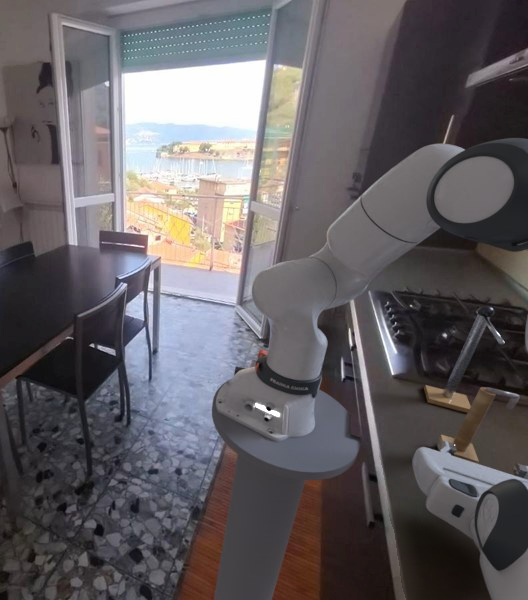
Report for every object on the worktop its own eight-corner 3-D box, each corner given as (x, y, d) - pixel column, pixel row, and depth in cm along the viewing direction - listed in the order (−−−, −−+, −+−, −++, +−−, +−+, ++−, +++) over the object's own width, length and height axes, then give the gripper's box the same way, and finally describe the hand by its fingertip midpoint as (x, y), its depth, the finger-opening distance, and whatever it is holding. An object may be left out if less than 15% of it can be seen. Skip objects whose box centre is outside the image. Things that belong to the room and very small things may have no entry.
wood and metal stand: (433, 427, 79) (479, 327, 69) (423, 388, 91) (461, 298, 81) (481, 441, 76) (537, 337, 65) (464, 399, 88) (509, 305, 77)
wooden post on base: (439, 461, 71) (475, 391, 63) (435, 444, 75) (468, 376, 67) (483, 476, 68) (525, 403, 60) (476, 457, 72) (515, 387, 64)
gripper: (633, 549, 44) (579, 468, 55) (427, 477, 54) (416, 420, 65) (605, 579, 47) (559, 495, 58) (414, 505, 56) (405, 445, 67)
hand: (482, 455), depth 61 cm, fingers open, 8 cm apart
